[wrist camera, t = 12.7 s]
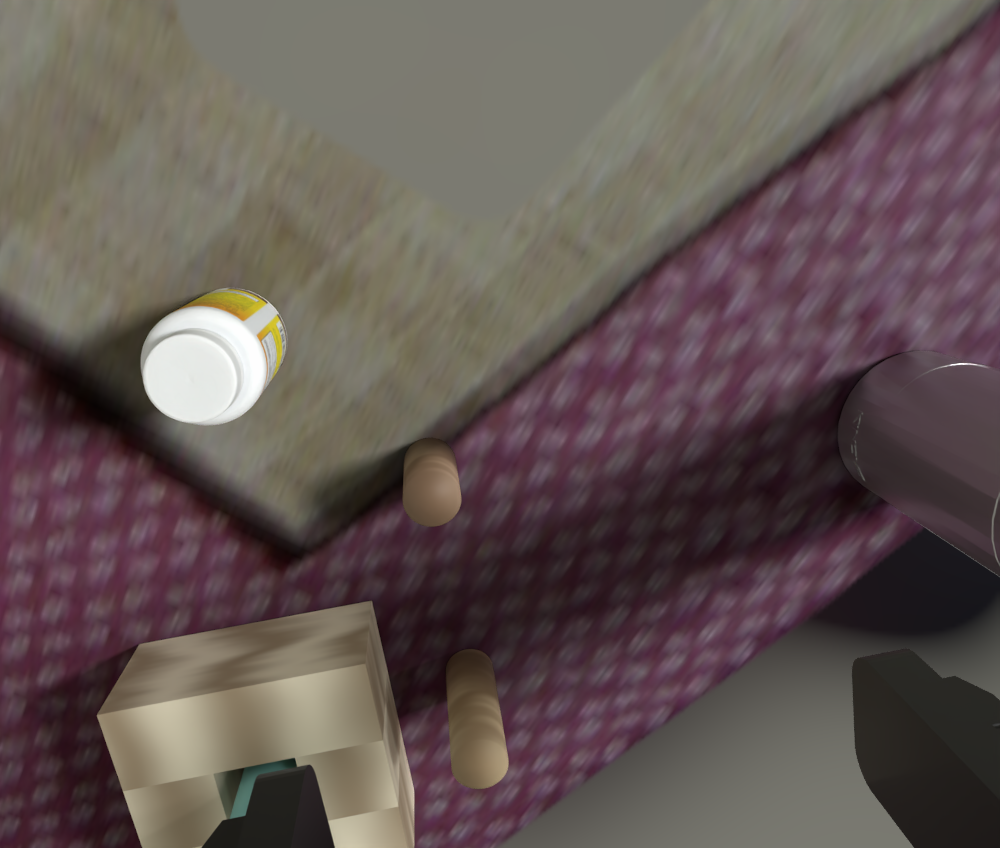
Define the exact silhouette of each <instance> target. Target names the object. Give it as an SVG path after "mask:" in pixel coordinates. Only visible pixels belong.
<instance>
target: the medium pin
mask: <svg viewBox="0 0 1000 848" xmlns="http://www.w3.org/2000/svg"><path fill="white" fill-rule="evenodd" d="M446 686H447V702H448V718H449V734H450V750H451V765H452V772H453V775H454V777H455V778H456V780H457V781H458V782H460V783H461V784H462V785H464V786H466V787H469V788H473V789H483V788H488V787H490V786H493V785H495V784H496V783H498V782H499V781H500V780H501V779H502V778H503V777H504V775H505V774H506V772H507V769H508V755H507V749H506V743H505V737H504V731H503V725H502V718H501V712H500V706H499V700H498V694H497V688H496V682H495V675H494V669H493V664H492V661H491V659H490V658H489V657H488V656H487V655H486V654H485V653H484V652H482V651H479V650H476V649H465V650H462V651H459V652H457V653H456V654H454V655H453V656H452V657H451V658H450V659H449V661H448V663H447V665H446Z"/></svg>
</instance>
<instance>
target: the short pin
mask: <svg viewBox="0 0 1000 848" xmlns="http://www.w3.org/2000/svg"><path fill="white" fill-rule="evenodd" d="M460 505H461V492H460V485H459V478H458V472H457V465H456V459H455V455H454V452H453V450H452V449H451V447H450V446H449V445H448V444H447V443H445V442H444V441H442V440H439V439H436V438H424V439H421V440H418V441H416V442H415V443H413V444H412V445H411V446H410V447H409V449H408V450H407V452H406V454H405V458H404V476H403V506H404V509H405V511H406V513H407V515H408V516H409V517H410V518H411V519H412V520H413V521H415V522H416V523H418V524H420V525H423V526H429V527H434V526H440V525H443V524H445V523H447V522H449V521H450V520H451V519H452V518H454V516H455V515H456V514H457V512H458V510H459V508H460Z"/></svg>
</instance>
